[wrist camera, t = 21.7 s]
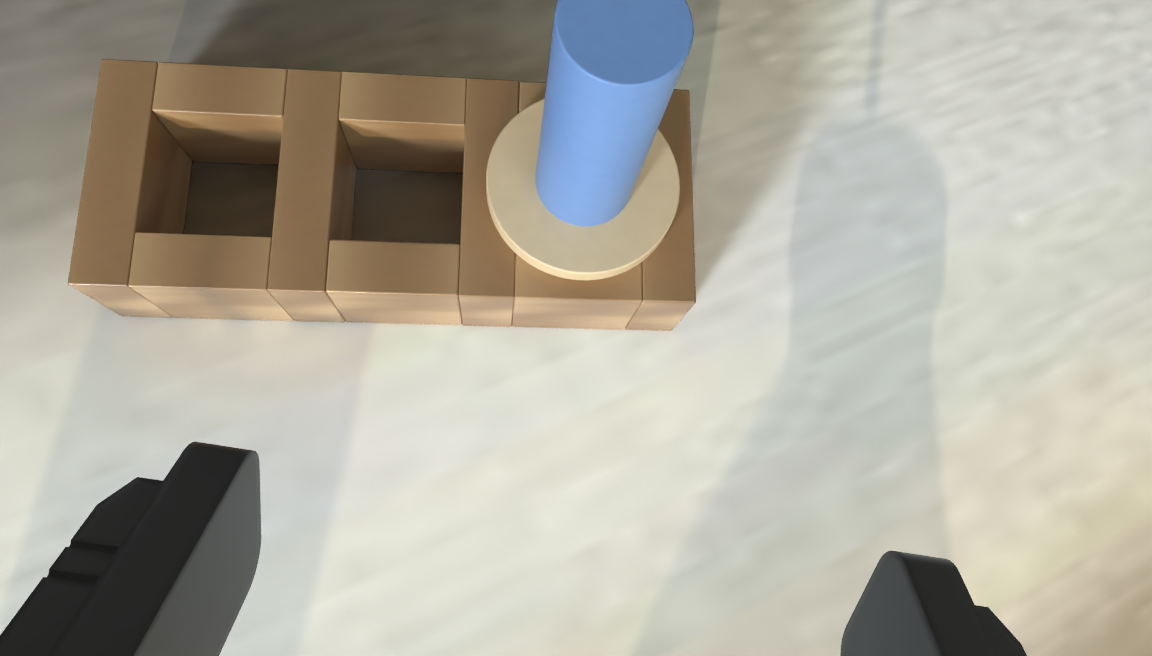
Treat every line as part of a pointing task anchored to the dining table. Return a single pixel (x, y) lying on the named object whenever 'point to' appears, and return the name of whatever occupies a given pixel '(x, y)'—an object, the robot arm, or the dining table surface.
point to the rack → (335, 204)
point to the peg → (594, 142)
